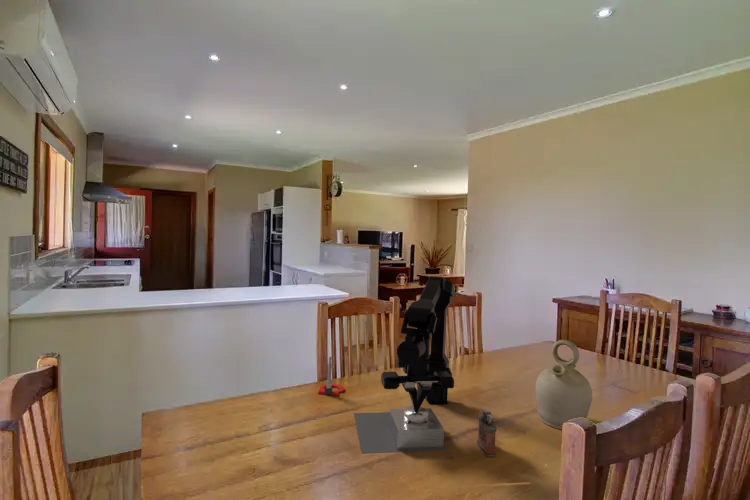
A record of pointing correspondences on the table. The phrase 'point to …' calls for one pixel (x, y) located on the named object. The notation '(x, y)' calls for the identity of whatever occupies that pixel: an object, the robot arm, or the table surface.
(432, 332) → the robot arm
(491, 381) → the table surface
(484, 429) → the lighter
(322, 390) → the tow hook
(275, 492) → the table surface
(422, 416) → the silver door knob
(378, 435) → the mat
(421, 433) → the hitch block
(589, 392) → the jug
